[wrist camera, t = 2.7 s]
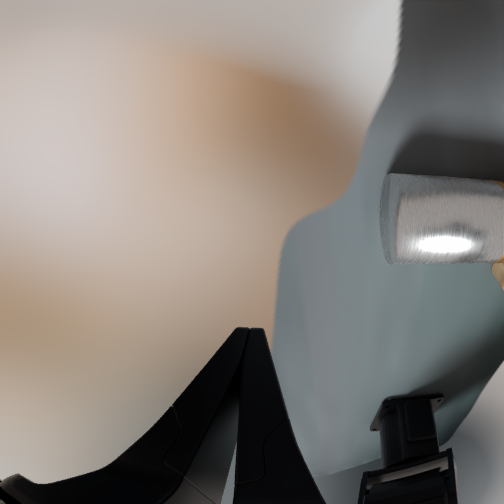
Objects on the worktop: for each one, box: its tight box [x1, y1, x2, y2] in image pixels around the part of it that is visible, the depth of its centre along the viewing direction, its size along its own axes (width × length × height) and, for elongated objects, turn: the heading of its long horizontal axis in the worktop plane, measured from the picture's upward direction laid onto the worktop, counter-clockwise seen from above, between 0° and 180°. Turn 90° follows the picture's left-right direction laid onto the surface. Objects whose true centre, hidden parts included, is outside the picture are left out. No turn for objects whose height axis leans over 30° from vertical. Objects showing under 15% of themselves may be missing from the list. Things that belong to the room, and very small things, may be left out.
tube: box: [380, 173, 504, 264], centre depth 12 cm, size 12×4×4 cm, turn 96°
